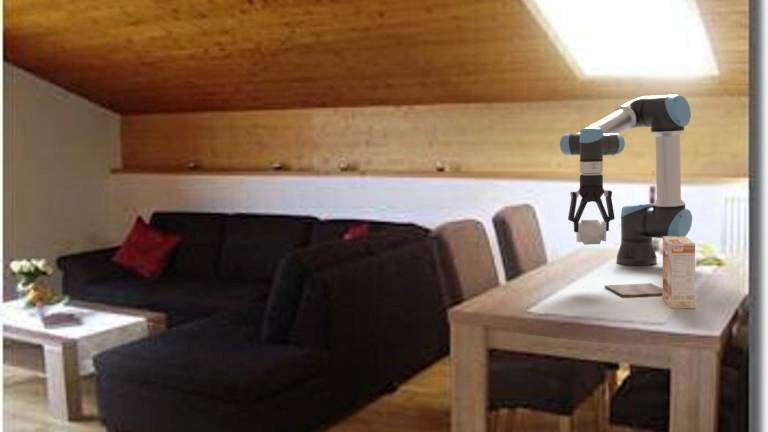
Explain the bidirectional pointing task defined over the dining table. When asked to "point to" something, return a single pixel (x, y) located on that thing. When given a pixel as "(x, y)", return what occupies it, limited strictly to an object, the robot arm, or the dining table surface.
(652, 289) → the walnut board
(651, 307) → the dining table surface
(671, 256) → the coffeecake box
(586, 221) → the die
